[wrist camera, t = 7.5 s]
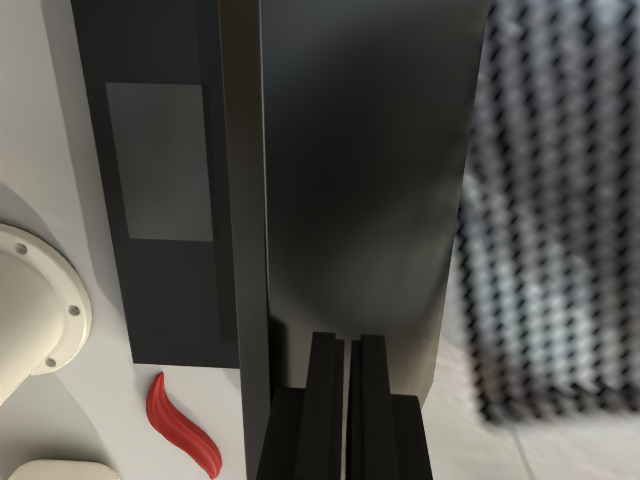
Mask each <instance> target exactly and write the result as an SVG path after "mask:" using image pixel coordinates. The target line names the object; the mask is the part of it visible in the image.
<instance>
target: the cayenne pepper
mask: <svg viewBox="0 0 640 480" xmlns="http://www.w3.org/2000/svg"><path fill="white" fill-rule="evenodd" d="M146 412H147V417H148V420H149V422H150V424H151V425H152V426H153V427H154V428H155V429H156V430H157V431H158V432H159V433H161V434H162V435H163V436H164V437H165V438H166V439H167V440H168V441H170V442H171V443H172V444H174V445H175V446H177V447H179V448H180V449H182V450H183V451H185V452H186V453H188V454H189V455H190V456H191V457H192V458H193V459H194V460H195V461H196V462H197V463H198V464H199V465H200V466H201V467H202V468H203V469H204V470H205V471H206V472H207V473H208V475H209V477H210V478H211V479H212V480H213V479H215V478H216V477H217V476H218V474H219V472H220V469H221V466H222V460H221V455H220V452H219V450H218V448H217V447H216V445H215V444H214V442H213V441H212V440H211V439H210V438H209V437H208V436H207V435H206V434H205V433H204V432H203V431H202V430H201V429H200V428H198V427H197V426H196V425H195V424H193V423H192V422H191V421H189V420H188V419H187V418H186V417H184V416H183V415H182V414H181V413H180V412H179V411H178V410H177V409H176V408H175V407H174V406H173V405H172V404H171V402H170V401H169V400H168V398H167V396H166V394H165V390H164V374H163V372H162V373H160V374H158V375H157V376H156V377H155V379H154V380H153V382H152V384H151V387H150V389H149V392H148V395H147V399H146Z"/></svg>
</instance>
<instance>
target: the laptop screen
mask: <svg viewBox="0 0 640 480" xmlns="http://www.w3.org/2000/svg"><path fill="white" fill-rule="evenodd" d="M488 5H489V0H218V9H219V26H220V42H221V59H222V76H223V92H224V109H225V126H226V143H227V159H228V176H229V193H230V210H231V226H232V243H233V260H234V277H235V293H236V310H237V327H238V344H239V360H240V377H241V394H242V410H243V427H244V444H245V461H246V477H247V480H256V475H257V471H258V466H259V462H260V457H261V452H262V448H263V443H264V438H265V434H266V429H267V424H268V420H269V415H270V410H271V406H272V401H273V396H274V392H275V389H276V387H292V388H306V381H307V373H308V366H309V358H310V351H311V343H312V335H313V331H316V332H333V333H336V339H345V347H344V385H343V422H342V459H341V480H345V450H346V422H347V406H348V391H349V375H350V359H351V343H352V340H360V339H361V334H368V335H384V336H385V345H386V354H387V364H388V374H389V384H390V393H391V394H403V395H417V397H418V399H419V403H420V409H422V407H423V404H424V402H425V400H426V397H427V395H428V392H429V390H430V388H431V385H432V383H433V377H434V370H435V364H436V357H437V350H438V343H439V336H440V330H441V323H442V316H443V309H444V303H445V296H446V289H447V282H448V276H449V269H450V262H451V255H452V248H453V242H454V235H455V228H456V221H457V215H458V208H459V201H460V194H461V188H462V181H463V174H464V167H465V160H466V154H467V147H468V140H469V133H470V127H471V120H472V113H473V106H474V100H475V93H476V86H477V79H478V72H479V66H480V59H481V52H482V45H483V39H484V32H485V25H486V18H487V12H488Z"/></svg>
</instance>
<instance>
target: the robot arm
mask: <svg viewBox="0 0 640 480" xmlns="http://www.w3.org/2000/svg"><path fill="white" fill-rule="evenodd" d="M91 322H92V311H91V305H90V300H89V297H88V294H87V291H86V289H85V286H84V285H83V283H82V281H81V279H80V278H79V276H78V274H77V273H76V271H75V270H74V269H73V268H72V267H71V265H70V264H69V263H68V262H67V260H66V259H65V258H64V257H62V256H61V255H60V254H59V253H58V252H57V251H56V250H55V249H54V248H52V247H51V246H50V245H48V244H47V243H45V242H44V241H42V240H41V239H39V238H38V237H36V236H34V235H32V234H30V233H27V232H25V231H23V230H21V229H19V228H15V227H12V226H9V225H5V224H2V223H0V406H1V405H2V403H3V402H4V401H5V400H6V399H7V398H8V397H9V396H10V395H11V394H12V393H13V391H14V390H15V389H16V388H17V387H18V386H19V385H20V384H21V383H22V382H23V381H24V380H25V378H26V377H27V376H35V375H40V374H45V373H49V372H52V371H54V370H57V369H59V368H61V367H63V366H64V365H65V364H67V363H68V362H70V361H71V360H72V359H73V358H74V356H75V355H76V354H77V353H78V352H79V351H80V350H81V348H82V347H83V345H84V344H85V342H86V341H87V339H88V336H89V333H90V330H91ZM344 347H345V339H336V333H333V332H316V331H313V335H312V343H311V351H310V358H309V366H308V373H307V381H306V388H292V387H276V389H275V392H274V396H273V401H272V406H271V410H270V415H269V420H268V424H267V429H266V434H265V438H264V443H263V448H262V452H261V457H260V462H259V466H258V471H257V475H256V480H341V459H342V422H343V385H344ZM345 480H433V477H432V471H431V465H430V460H429V454H428V448H427V443H426V437H425V431H424V426H423V420H422V414H421V409H420V403H419V399H418V397H417V395H403V394H391V393H390V384H389V374H388V364H387V354H386V345H385V336H384V335H368V334H361V339H360V340H352V343H351V359H350V375H349V391H348V406H347V422H346V450H345Z"/></svg>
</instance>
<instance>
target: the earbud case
mask: <svg viewBox="0 0 640 480" xmlns="http://www.w3.org/2000/svg"><path fill="white" fill-rule="evenodd" d="M7 480H121V479H120V477H119V476H118V475H117V473H116V472H115V471H114V470H112V469H111V468H109V467H108V466H106V465H103V464H100V463H96V462H87V461H70V460H50V459H41V460H33V461H30V462H27V463H24V464H23V465H21V466H19V467H18V468H17V469H16V470H15V471H14V472H13V473H12V474H11V475H10V477H9V478H8V479H7Z"/></svg>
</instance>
